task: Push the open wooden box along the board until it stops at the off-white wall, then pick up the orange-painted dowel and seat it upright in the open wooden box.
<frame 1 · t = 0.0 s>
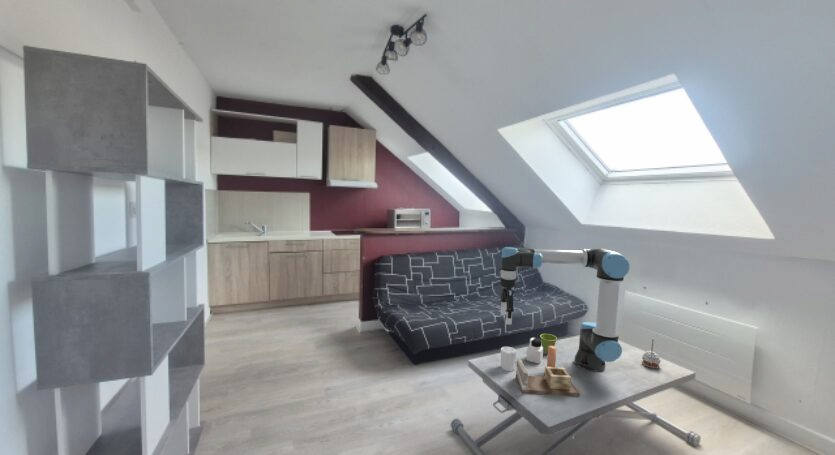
hand: (505, 319, 172), 28 cm above the table, fingers open, 13 cm apart
board: (546, 386, 162), on the table
cupcake with stick: (650, 365, 186), on the table
open wooden box: (557, 377, 162), point 5 cm above the table, slide at 0.0 cm
plant pot: (547, 351, 200), on the table
white cup: (507, 368, 179), on the table
dowel: (550, 371, 177), on the table
medicine bottle: (534, 360, 189), on the table
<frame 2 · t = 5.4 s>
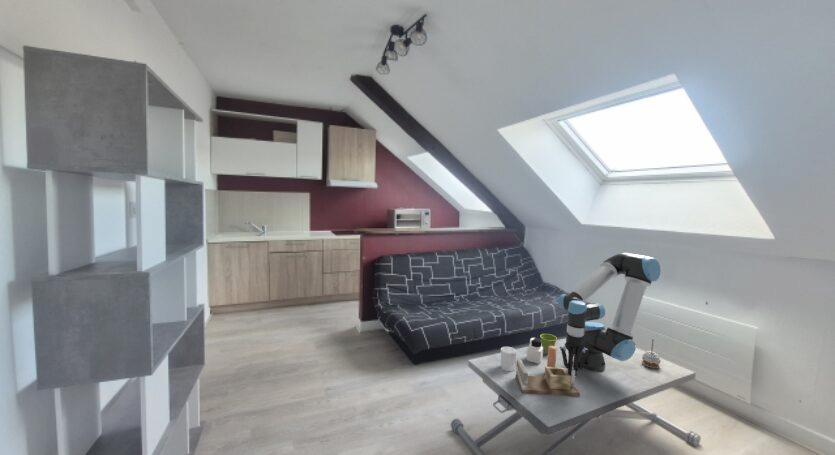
hand: (571, 382, 161), 3 cm above the table, fingers closed
open wooden box: (557, 377, 162), point 5 cm above the table, slide at 0.1 cm, touching gripper
everything else where it was.
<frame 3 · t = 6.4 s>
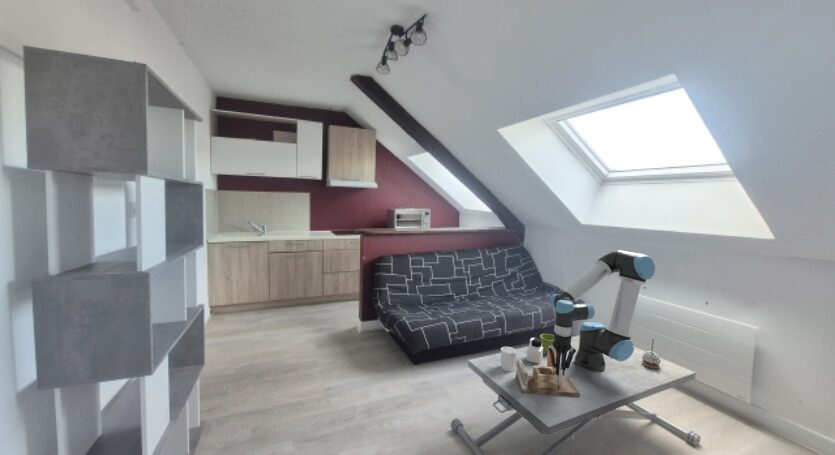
hand: (559, 381, 162), 3 cm above the table, fingers closed
open wooden box: (544, 377, 162), point 5 cm above the table, slide at 5.9 cm, touching gripper
everything else where it was.
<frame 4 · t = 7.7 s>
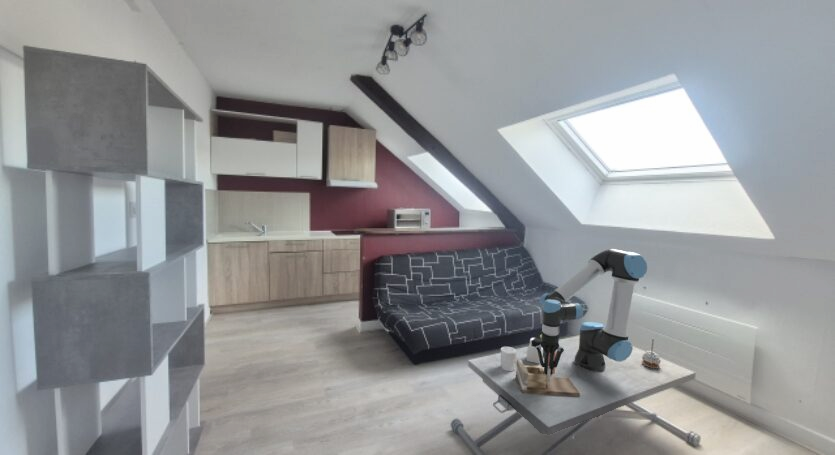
hand: (547, 380, 162), 3 cm above the table, fingers closed
open wooden box: (533, 376, 162), point 5 cm above the table, slide at 11.2 cm, touching gripper
everything else where it was.
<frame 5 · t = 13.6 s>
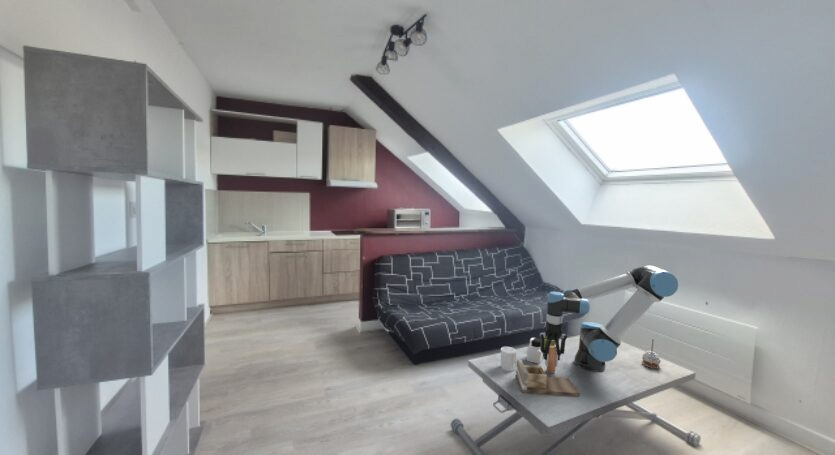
hand: (551, 365, 177), 3 cm above the table, fingers closed on dowel, 4 cm apart
open wooden box: (533, 376, 162), point 5 cm above the table, slide at 11.0 cm
dowel: (550, 371, 177), on the table, touching gripper
everything else where it was.
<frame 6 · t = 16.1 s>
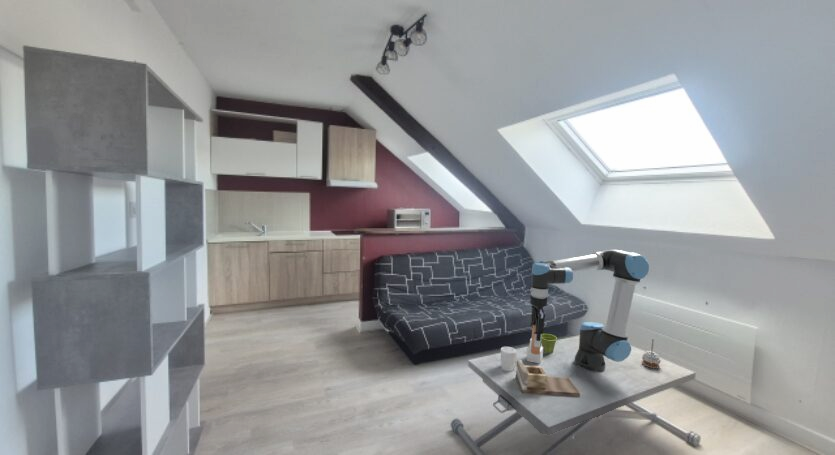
hand: (535, 344, 161), 21 cm above the table, fingers closed on dowel, 4 cm apart
dowel: (535, 352, 161), point 17 cm above the table, touching gripper
everything else where it was.
when the fingers open (8 cm above the table, at t = 18.6 s): dowel drops 2 cm, resting on board.
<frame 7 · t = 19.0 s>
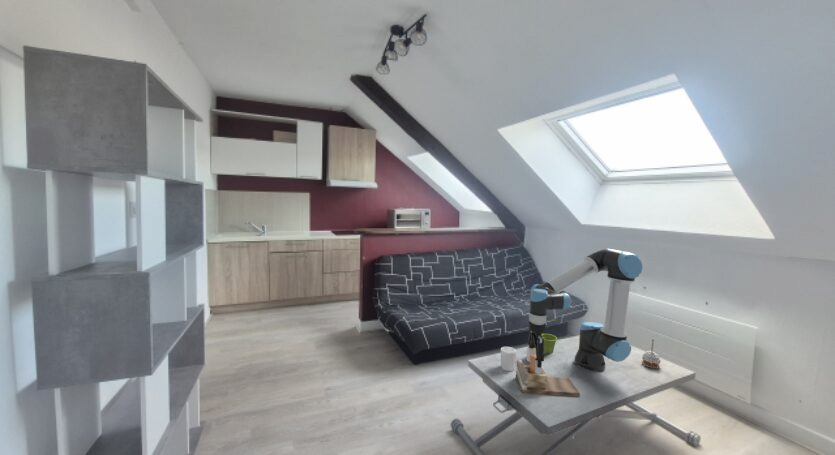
hand: (534, 367, 162), 9 cm above the table, fingers open, 10 cm apart
dowel: (533, 382, 163), point 2 cm above the table, touching board
everything else where it was.
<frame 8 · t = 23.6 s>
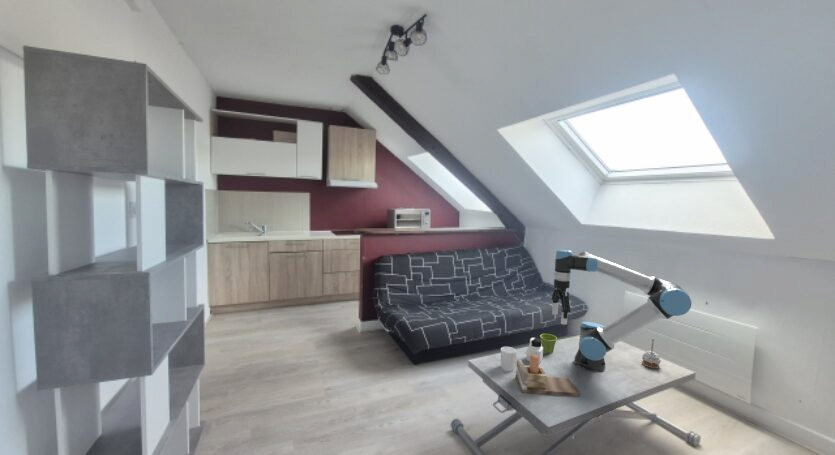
hand: (559, 319, 178), 27 cm above the table, fingers open, 13 cm apart
nothing on the table moved.
at the end: open wooden box slide at 11.0 cm; dowel 0.1 cm off-centre on the open wooden box, point 0.0 cm above the open wooden box's base; dowel tilted 1° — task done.
